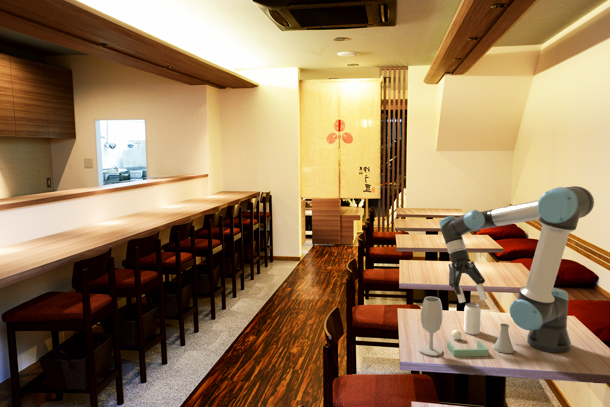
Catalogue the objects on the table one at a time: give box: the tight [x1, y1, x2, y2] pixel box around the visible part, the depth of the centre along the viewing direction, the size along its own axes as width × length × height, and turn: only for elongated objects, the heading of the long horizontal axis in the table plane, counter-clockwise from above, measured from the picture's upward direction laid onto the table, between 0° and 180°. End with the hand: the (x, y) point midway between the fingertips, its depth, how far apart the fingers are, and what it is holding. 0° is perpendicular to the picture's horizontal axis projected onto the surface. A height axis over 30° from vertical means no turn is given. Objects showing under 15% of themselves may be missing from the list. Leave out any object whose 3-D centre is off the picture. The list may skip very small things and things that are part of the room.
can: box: [463, 302, 482, 336], centre depth 189 cm, size 6×6×12 cm
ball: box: [451, 329, 463, 341], centre depth 182 cm, size 4×4×4 cm
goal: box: [446, 340, 489, 358], centre depth 171 cm, size 8×13×2 cm, turn 91°
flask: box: [493, 323, 515, 354], centre depth 172 cm, size 7×7×10 cm
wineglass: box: [419, 296, 444, 357], centre depth 170 cm, size 9×9×21 cm
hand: (473, 301), depth 183 cm, fingers open, 13 cm apart
